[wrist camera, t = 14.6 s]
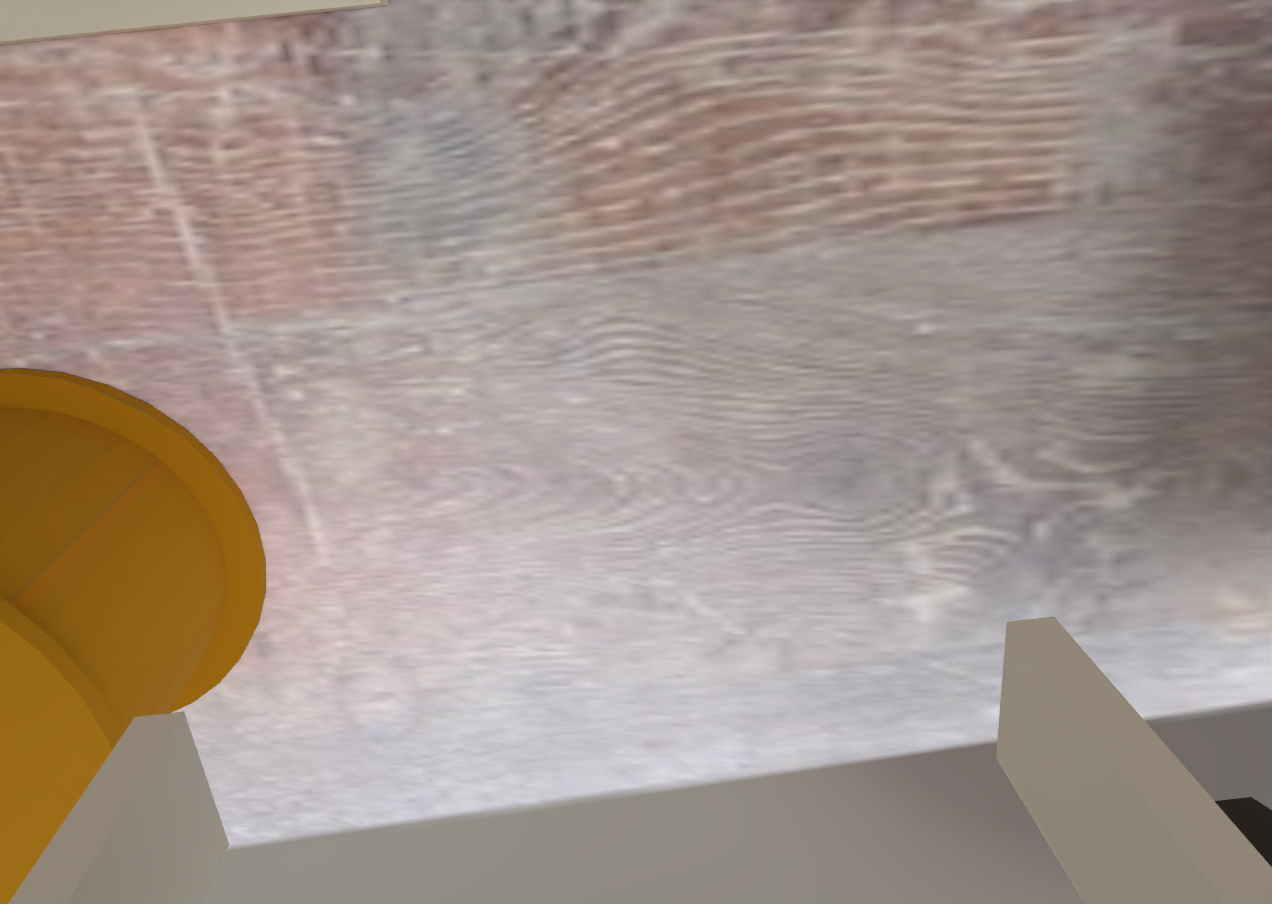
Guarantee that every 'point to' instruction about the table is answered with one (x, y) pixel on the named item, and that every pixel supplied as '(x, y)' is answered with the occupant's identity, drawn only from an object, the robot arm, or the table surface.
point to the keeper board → (143, 15)
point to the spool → (105, 588)
